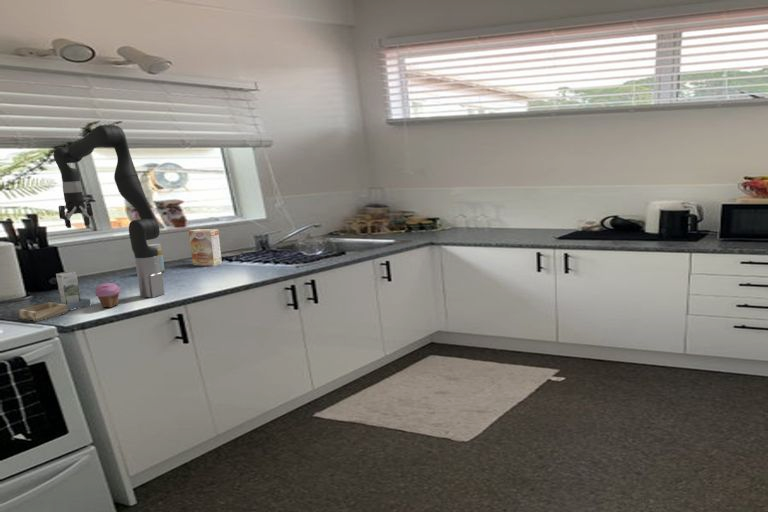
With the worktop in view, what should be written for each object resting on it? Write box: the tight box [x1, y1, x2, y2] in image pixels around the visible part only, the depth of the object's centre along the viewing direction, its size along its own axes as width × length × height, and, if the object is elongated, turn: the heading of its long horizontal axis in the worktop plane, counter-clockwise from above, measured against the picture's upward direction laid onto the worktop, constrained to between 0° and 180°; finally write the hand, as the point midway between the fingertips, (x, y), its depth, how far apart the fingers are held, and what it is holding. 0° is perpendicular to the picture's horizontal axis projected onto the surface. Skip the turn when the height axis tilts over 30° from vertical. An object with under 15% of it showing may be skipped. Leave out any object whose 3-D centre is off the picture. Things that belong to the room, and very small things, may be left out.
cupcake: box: [95, 282, 121, 308], centre depth 210 cm, size 9×9×10 cm
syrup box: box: [55, 270, 81, 305], centre depth 212 cm, size 6×6×14 cm
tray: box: [17, 301, 69, 322], centre depth 201 cm, size 12×12×4 cm
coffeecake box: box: [188, 228, 223, 267], centre depth 291 cm, size 15×7×20 cm, turn 68°
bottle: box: [147, 243, 166, 274], centre depth 274 cm, size 7×7×15 cm
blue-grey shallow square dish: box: [53, 297, 91, 311], centre depth 213 cm, size 10×10×2 cm
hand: (78, 226), depth 242 cm, fingers open, 8 cm apart
